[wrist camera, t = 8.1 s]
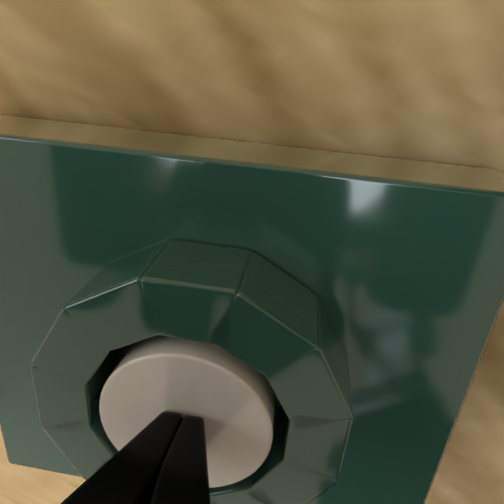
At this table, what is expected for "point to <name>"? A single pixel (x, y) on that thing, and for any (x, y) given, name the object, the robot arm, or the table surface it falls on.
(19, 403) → the control block
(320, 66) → the table surface
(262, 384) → the button
